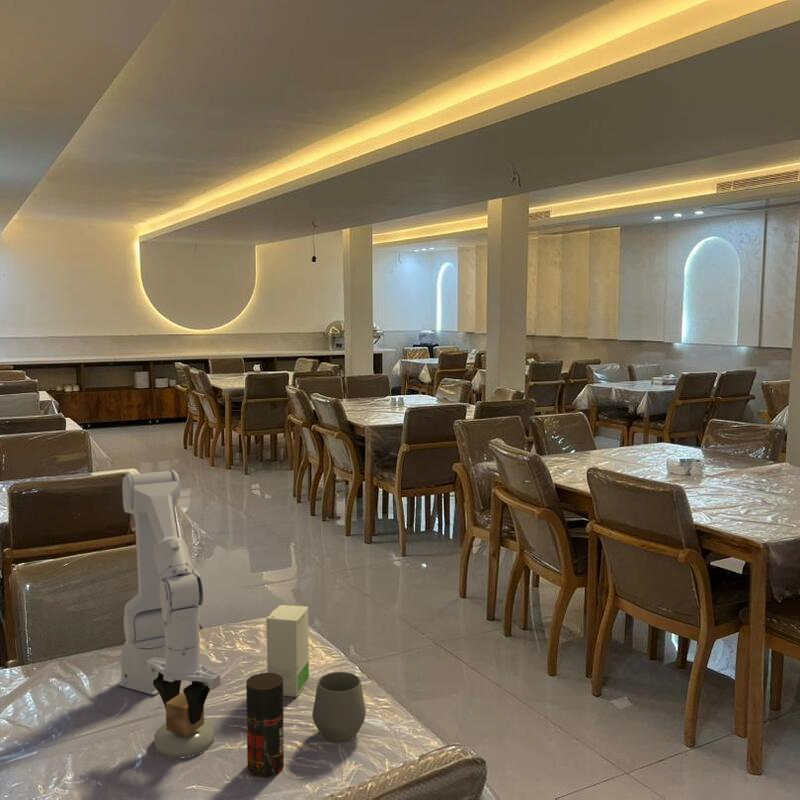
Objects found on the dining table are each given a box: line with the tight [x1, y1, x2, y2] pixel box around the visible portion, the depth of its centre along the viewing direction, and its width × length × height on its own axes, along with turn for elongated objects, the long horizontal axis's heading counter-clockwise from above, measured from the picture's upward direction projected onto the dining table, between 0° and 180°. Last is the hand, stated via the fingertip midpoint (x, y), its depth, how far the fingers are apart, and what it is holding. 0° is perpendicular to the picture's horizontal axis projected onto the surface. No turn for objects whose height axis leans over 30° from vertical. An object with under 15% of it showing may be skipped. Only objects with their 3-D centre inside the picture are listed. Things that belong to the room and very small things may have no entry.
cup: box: [311, 671, 367, 744], centre depth 139 cm, size 10×9×10 cm
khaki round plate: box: [154, 719, 215, 759], centre depth 137 cm, size 10×10×2 cm
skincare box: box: [265, 604, 310, 698], centre depth 157 cm, size 8×7×16 cm
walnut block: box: [165, 691, 205, 736], centre depth 137 cm, size 4×4×5 cm
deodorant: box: [245, 672, 285, 779], centre depth 129 cm, size 6×6×15 cm
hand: (184, 718), depth 137 cm, fingers closed on walnut block, 4 cm apart
